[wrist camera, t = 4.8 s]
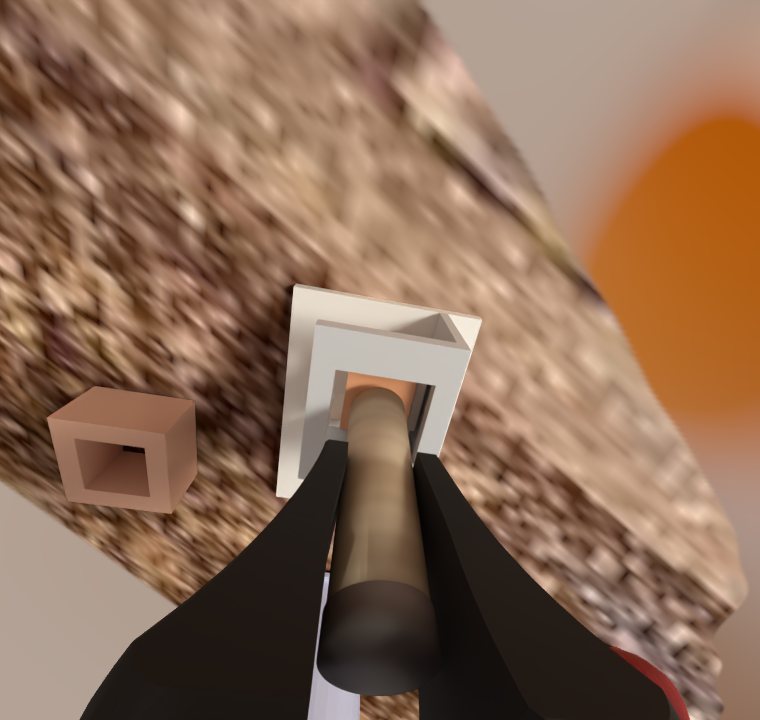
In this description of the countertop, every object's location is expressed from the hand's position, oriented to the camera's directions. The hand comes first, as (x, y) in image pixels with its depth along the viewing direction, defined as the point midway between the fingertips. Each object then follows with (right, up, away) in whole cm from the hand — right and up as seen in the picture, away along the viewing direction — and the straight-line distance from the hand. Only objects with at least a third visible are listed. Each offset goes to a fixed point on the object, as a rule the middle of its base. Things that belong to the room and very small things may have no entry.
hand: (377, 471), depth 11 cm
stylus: (0, +1, +3) cm, 3 cm away
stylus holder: (-13, -1, +9) cm, 16 cm away
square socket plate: (-1, 0, +9) cm, 9 cm away
